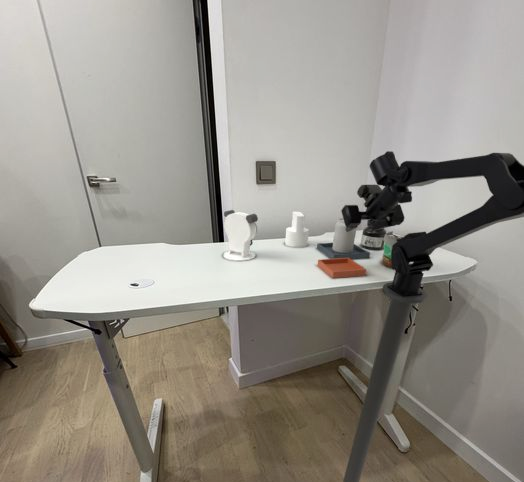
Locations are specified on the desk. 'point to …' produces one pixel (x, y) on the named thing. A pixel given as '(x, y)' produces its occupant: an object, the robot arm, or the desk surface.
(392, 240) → the food container
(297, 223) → the white stepped part
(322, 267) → the terracotta tray
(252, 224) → the panda figurine
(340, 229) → the can
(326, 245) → the grey tray
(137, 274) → the desk surface
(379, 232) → the ink bottle
